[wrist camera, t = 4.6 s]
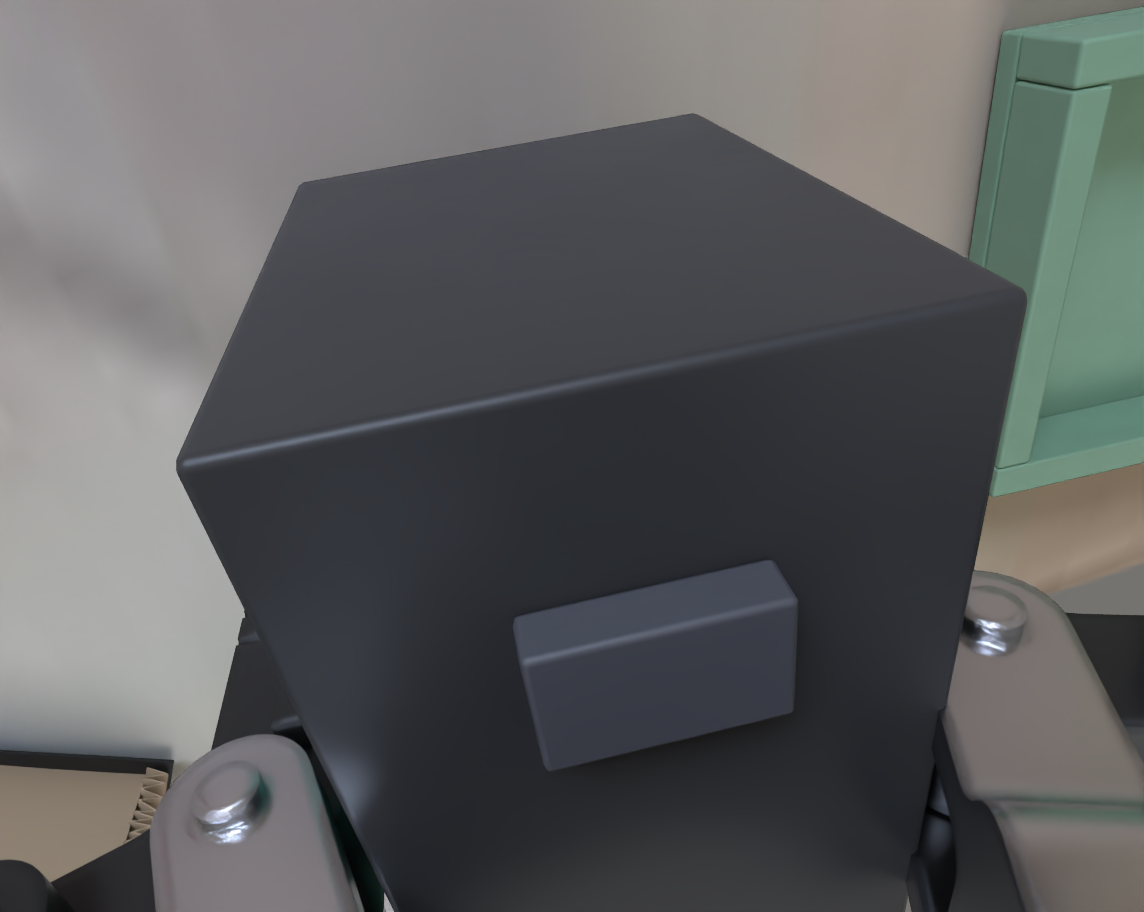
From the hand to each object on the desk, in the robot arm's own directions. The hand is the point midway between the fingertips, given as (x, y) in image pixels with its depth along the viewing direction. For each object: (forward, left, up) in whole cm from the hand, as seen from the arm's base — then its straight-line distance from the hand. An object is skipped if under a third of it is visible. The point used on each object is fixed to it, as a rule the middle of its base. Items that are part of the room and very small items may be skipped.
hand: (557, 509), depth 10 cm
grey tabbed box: (0, 0, -1) cm, 1 cm away
